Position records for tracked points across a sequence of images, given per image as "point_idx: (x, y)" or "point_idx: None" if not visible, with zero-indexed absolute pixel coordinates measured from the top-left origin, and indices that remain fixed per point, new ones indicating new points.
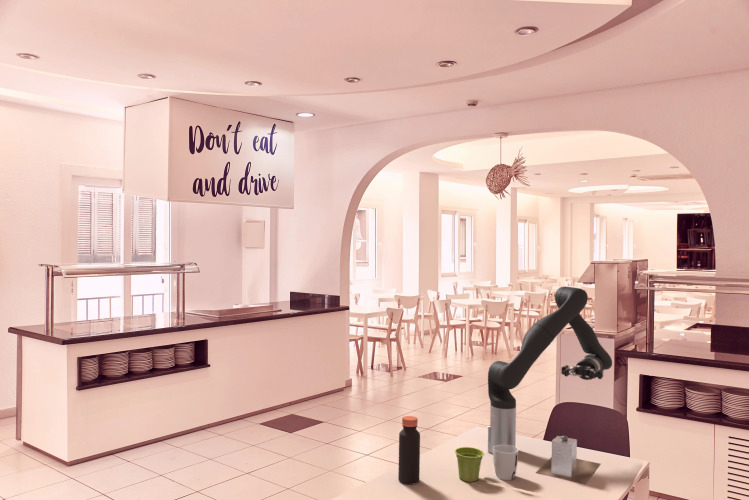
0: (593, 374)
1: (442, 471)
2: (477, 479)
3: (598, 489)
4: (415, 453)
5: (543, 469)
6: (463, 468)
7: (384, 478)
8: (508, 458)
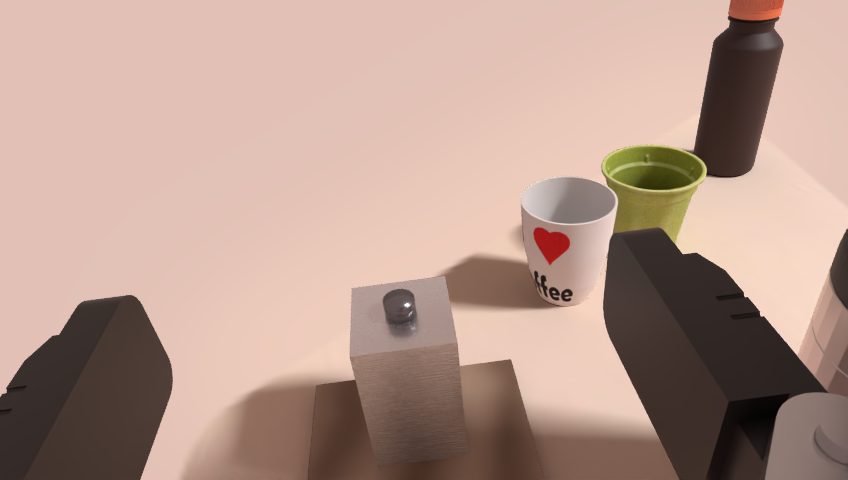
0: (22, 373)
1: (737, 230)
2: None
3: (273, 408)
4: (705, 87)
5: (506, 406)
6: (637, 187)
7: (766, 146)
8: (533, 199)
